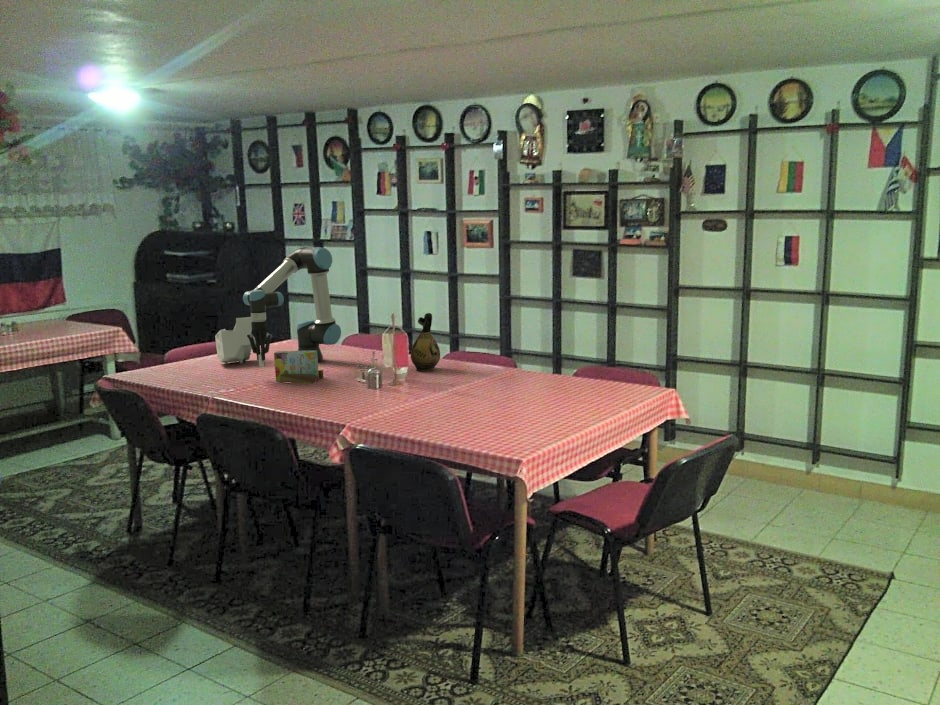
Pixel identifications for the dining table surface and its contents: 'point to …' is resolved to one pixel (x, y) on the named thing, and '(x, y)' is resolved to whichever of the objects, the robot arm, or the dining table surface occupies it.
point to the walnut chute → (300, 377)
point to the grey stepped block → (235, 342)
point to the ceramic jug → (425, 347)
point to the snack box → (296, 363)
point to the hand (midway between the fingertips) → (261, 366)
